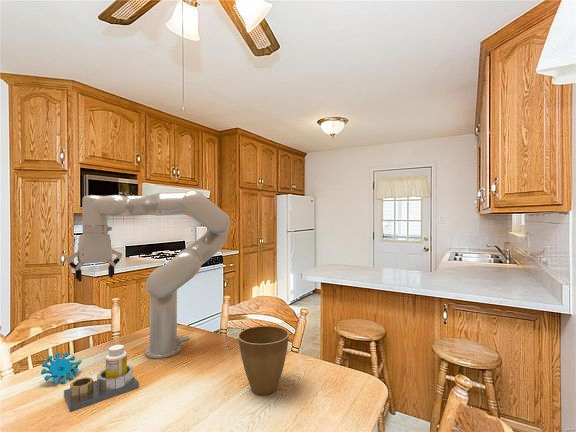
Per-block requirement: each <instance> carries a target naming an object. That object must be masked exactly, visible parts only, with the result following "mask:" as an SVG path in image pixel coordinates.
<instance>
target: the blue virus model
mask: <svg viewBox="0 0 576 432" xmlns="http://www.w3.org/2000/svg"><path fill="white" fill-rule="evenodd" d="M61 355H62V353H61V352H56V353H55V354H54V355H49V356H48V357H46V360H47V361H46V360H45V361H44V362H43V363H42V365H41V367H42V370H41V371H40V375H45V374H47V375H45V376H44V377H43V378H44V381H46V382H47V381H49V380H50V379H51V378H53V379H52V380H51V382H50V383H51V384H53V385H56V384H57V382H58V381H59V379H60V378H62V379H61V380H60V381H59V382H60V384H62V385H63V384H66V383H67V378H66V376H68V381H71V380H73V379H74V378H75V375H76V374H77V373H78V372H79V368H78V367H79V366H80V365H81V364H82V363H83V360H82V359H79V360H78V361H75V360H76V359H77V358H76V356H75V355H72V356H71V357H69V355H70V353H69V352H67V351H65V352H64V353H63V356H62V357H61V358H59V357H60V356H61ZM54 356H55V360H53V358H54ZM68 357H69V358H68ZM48 361H49V362H48ZM73 361H74V362H73ZM49 363H50V364H49ZM46 368H47V369H48V370H47V369H46ZM72 372H73V374H72ZM74 374H75V375H74Z"/></svg>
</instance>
